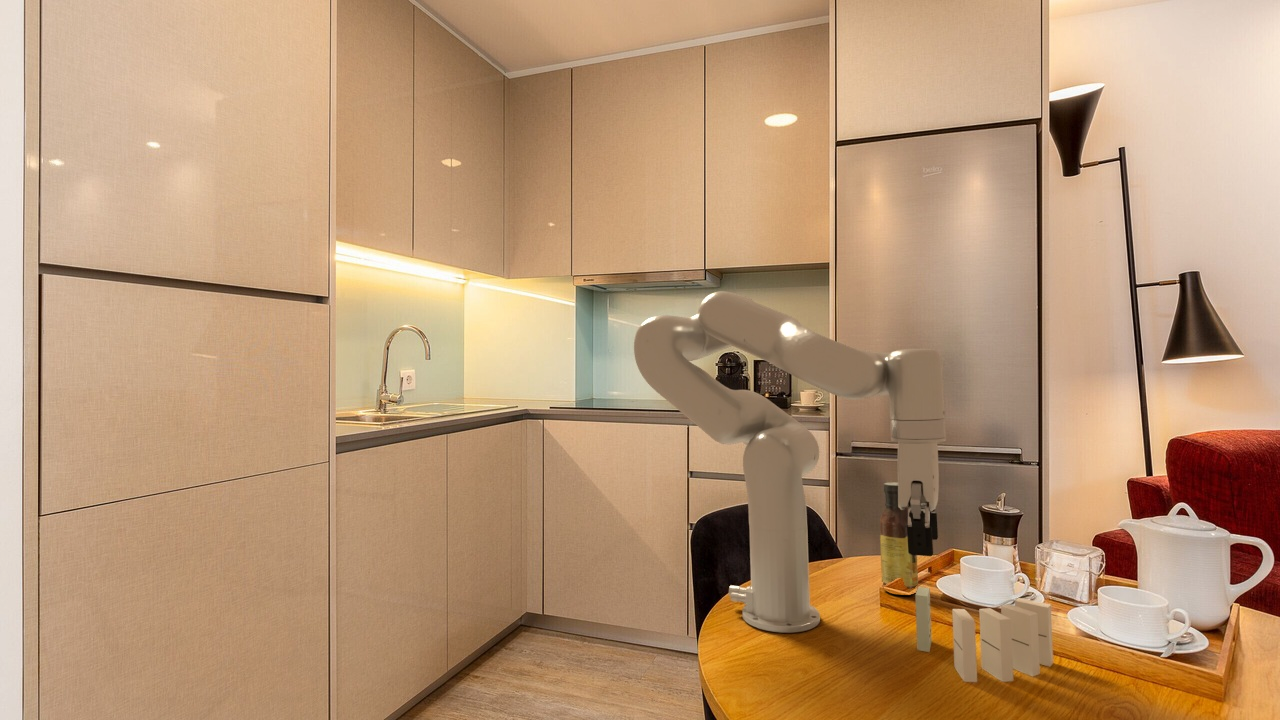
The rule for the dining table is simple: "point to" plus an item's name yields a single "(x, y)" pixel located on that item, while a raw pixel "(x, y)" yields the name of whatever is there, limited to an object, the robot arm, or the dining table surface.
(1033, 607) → the domino
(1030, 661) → the domino
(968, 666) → the domino
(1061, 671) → the dining table surface
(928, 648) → the sage domino
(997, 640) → the domino
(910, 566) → the sauce bottle
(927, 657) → the dining table surface
